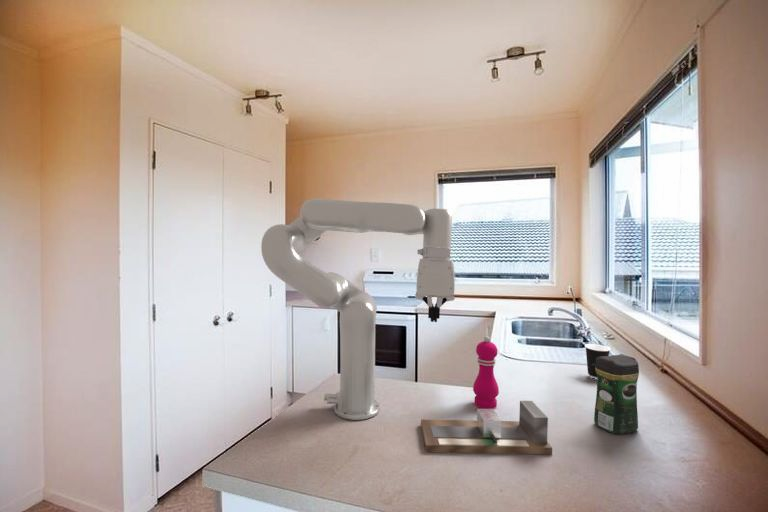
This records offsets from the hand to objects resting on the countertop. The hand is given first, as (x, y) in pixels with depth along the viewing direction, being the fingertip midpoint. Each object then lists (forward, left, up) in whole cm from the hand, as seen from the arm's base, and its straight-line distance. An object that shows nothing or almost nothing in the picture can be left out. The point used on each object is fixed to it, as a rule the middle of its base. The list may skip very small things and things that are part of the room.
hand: (433, 320), depth 100 cm
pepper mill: (+16, +5, -26) cm, 31 cm away
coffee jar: (+46, -7, -26) cm, 53 cm away
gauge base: (+10, -14, -25) cm, 31 cm away
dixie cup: (+62, +29, -26) cm, 73 cm away
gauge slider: (+12, -15, -23) cm, 30 cm away
